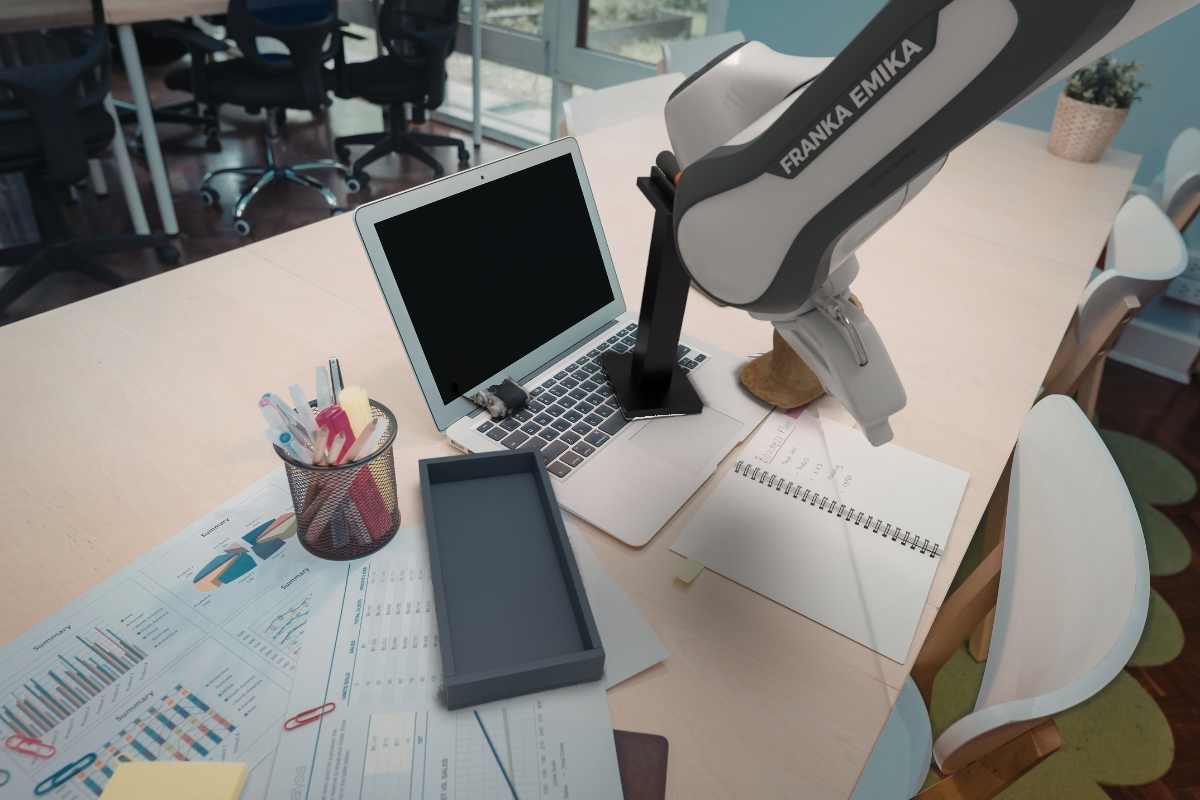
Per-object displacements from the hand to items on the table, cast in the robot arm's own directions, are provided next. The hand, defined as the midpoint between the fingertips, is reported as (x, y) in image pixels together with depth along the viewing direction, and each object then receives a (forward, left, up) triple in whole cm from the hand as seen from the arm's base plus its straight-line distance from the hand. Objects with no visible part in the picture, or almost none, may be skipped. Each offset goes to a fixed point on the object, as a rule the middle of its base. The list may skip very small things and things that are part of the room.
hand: (857, 413), depth 60 cm
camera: (+21, +35, -20) cm, 45 cm away
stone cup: (+31, -4, -20) cm, 37 cm away
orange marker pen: (+25, +15, +6) cm, 29 cm away
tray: (-5, +29, -20) cm, 35 cm away
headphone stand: (+27, +15, -20) cm, 37 cm away
